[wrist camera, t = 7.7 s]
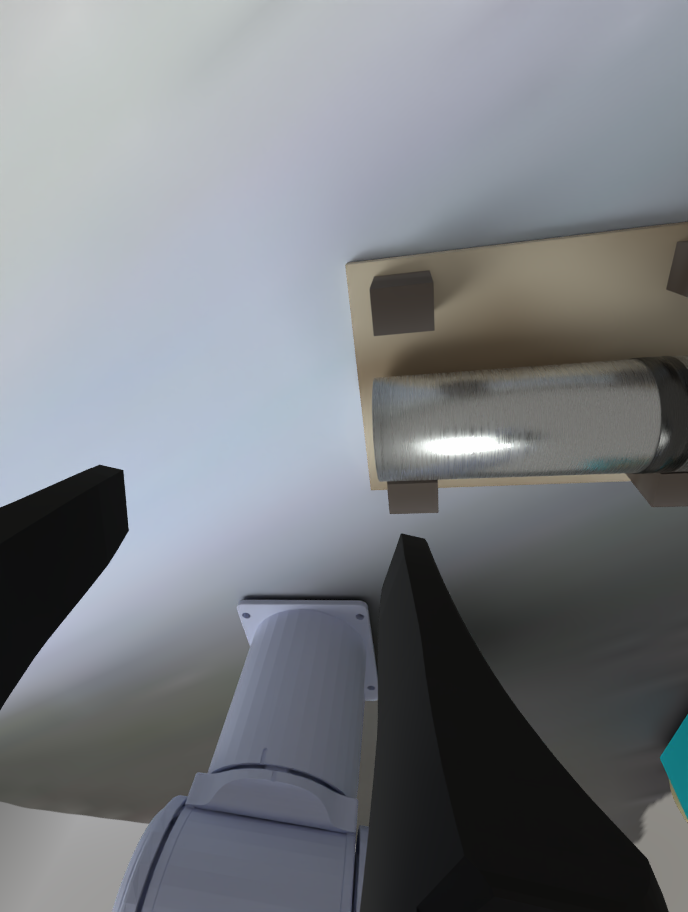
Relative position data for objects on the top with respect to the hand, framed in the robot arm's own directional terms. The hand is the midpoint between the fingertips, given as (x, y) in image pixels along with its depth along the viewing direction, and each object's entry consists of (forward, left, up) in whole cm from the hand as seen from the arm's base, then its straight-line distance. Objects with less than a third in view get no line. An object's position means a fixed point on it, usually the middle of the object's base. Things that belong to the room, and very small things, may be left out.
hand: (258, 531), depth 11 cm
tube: (-2, -10, -8) cm, 13 cm away
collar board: (0, -9, -9) cm, 13 cm away
